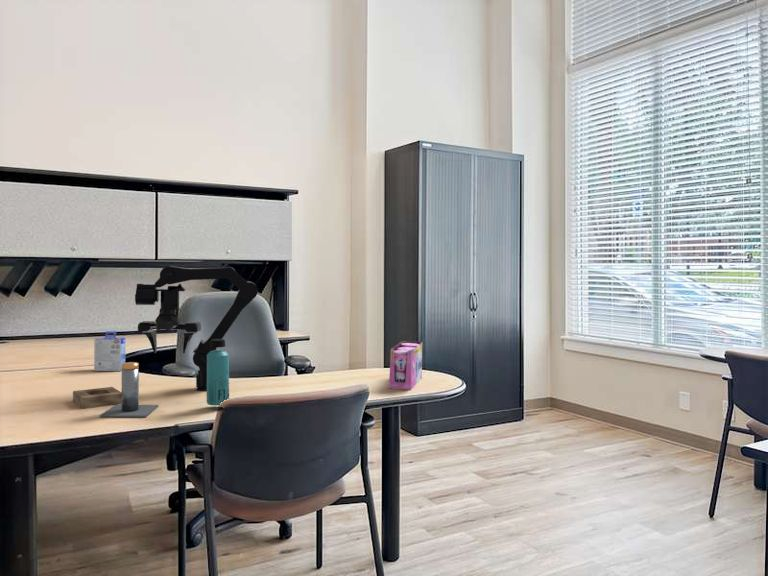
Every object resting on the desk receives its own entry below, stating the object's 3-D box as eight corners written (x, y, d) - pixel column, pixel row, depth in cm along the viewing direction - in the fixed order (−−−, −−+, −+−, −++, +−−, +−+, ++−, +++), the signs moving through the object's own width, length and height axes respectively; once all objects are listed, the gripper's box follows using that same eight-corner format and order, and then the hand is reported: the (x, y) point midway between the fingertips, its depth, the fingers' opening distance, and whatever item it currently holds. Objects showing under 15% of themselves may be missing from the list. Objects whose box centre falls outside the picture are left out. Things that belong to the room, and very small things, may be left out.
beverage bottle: (217, 412, 174) (217, 341, 173) (200, 408, 178) (201, 339, 177) (234, 407, 180) (234, 338, 179) (218, 404, 183) (218, 337, 182)
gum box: (410, 391, 207) (411, 350, 206) (387, 389, 209) (388, 349, 208) (422, 378, 230) (423, 341, 230) (401, 376, 232) (402, 340, 231)
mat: (158, 406, 179) (158, 404, 178) (145, 417, 167) (145, 415, 167) (115, 406, 178) (115, 404, 178) (99, 417, 166) (99, 415, 166)
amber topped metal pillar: (136, 407, 175) (136, 361, 175) (140, 410, 171) (140, 364, 171) (120, 409, 173) (120, 362, 172) (123, 412, 169) (123, 365, 168)
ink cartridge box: (126, 368, 236) (126, 331, 235) (121, 371, 231) (121, 332, 230) (99, 368, 235) (99, 330, 234) (93, 371, 230) (93, 332, 229)
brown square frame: (112, 396, 190) (112, 386, 190) (122, 403, 182) (122, 393, 182) (73, 401, 183) (72, 391, 183) (82, 408, 175) (82, 398, 175)
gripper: (131, 306, 191) (131, 356, 192) (193, 307, 192) (193, 357, 193) (143, 303, 202) (143, 351, 203) (201, 304, 204) (201, 352, 204)
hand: (169, 353), depth 201 cm, fingers open, 9 cm apart
